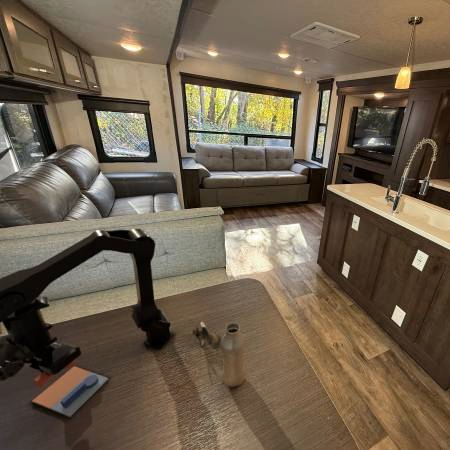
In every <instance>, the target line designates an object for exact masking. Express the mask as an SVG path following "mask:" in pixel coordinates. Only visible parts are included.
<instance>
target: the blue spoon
mask: <svg viewBox="0 0 450 450" xmlns="http://www.w3.org/2000/svg"><path fill="white" fill-rule="evenodd" d="M97 375H98V374H97ZM97 375H91V376H89V377H87V378H86V379H85V380H84V381H83V382H81V383H80V384H79V385H78V386H77V387H76V388H75V389H74V390H72V391H71V392H70V393H69V394H68V395H67V396H66V397H65V398H64V399H62V400H61V401H60V402H61V405H62V407H64V408H67V407H68V406H69V405H71V404H72V403H73V402H74V401H75V400H76V399H77V398H78V397H79V396H80V395H81V394H82V393H83V392H84V391H85V390H86V389H89V388H92V387H93V386H95V385H96V384H97V383H98V377H97Z"/></svg>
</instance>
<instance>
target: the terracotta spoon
mask: <svg viewBox="0 0 450 450" xmlns="http://www.w3.org/2000/svg"><path fill="white" fill-rule="evenodd" d="M75 362H76V359H75V360H74V361H72V362H71V363H70V364H69V365H67V366H66V367H65V368H64V369H63V370H65V369H68V368H69V367H71V366H73V365H74V363H75ZM56 375H57V374H54V375H50V376H47V375H46V374H45V373H44V372H43V373H41V374H39V375H38V376H37V377H35V378H34V379H33V383H34V384H35V386H36V387H37V388H41V387H43V386H44V385H45V384H46V383H48V382H49V381H50V380H51V379H52V378H53V377H55V376H56Z"/></svg>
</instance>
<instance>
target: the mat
mask: <svg viewBox="0 0 450 450" xmlns="http://www.w3.org/2000/svg"><path fill="white" fill-rule="evenodd" d="M91 375H97V377H98V383H97V384H96V385H95V386H93V387H92V388H89V389H86V390H85V391H84V392H83V393H82V394H81V395H80V396H79V397H78V398H77V399H76V400H75V401H74V402H73V403H72V404H71V405H69V406H68V407H67V408H64V407H62V405H61V402H60V401H61V400H62V399H64V398H65V397H66V396H67V395H68V394H69V393H70V392H71V391H72V390H74V389H75V388H76V387H77V386H78V385H79V384H80V383H81V382H83V381H84V380H85V379H86V378H87V377H89V376H91ZM107 381H109V378H108V377H105V376H103V375H100V374H98V373H95V372H91V371H89V370H85V369H84V368H80V367H78V366H75V365H74V366H72V367H71V368H70V369H69V370H68V371H67V372H65V373H64V374H63V375H62V376H60V377H59V378H58V379H57V380H56V381H54V382H53V383H52V384H51V385H49V386H48V387H47V388H46V389H44V390H43V391H42V392H41V393H40V394H38V396H36V397H35V398H34V399H32V402H31V403H33V404H36V405H39V406H41V407H44V408H46V409H49V410H50V411H53V412H56V413H58V414H61V415H64V416H66V417H68V418H71V417H72V416H73V415H74V414H75V413H76V412H77V411H78V410H79V409H80V408H81V407H82V406H83V405H84V404H86V402H87V401H88V400H89V399H90V398H91V397H92V396H93V395H95V393H96V392H98V391H99V390H100V388H101V387H103V386H104V385H105V383H106V382H107Z"/></svg>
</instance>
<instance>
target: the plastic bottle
mask: <svg viewBox="0 0 450 450" xmlns="http://www.w3.org/2000/svg"><path fill="white" fill-rule="evenodd" d="M224 329H225V331H224V335H223V336H222V338H220V345H219V346H220V347H219V348H220V351H221V354H222V360H223V365H222V371H221V378H222V381H223V384H225V385H226V386H227V387H233V388H234V387H238V386H239V385H241V384H243V382H244V380H245V378H246V373H247V371H246V366H245V363H244V353H245V347H246V339H245V337H244V335H243V334H242V333H241V327H240V325H239V323H237V322H231V323H229V324H227V325H226V326H225V328H224Z"/></svg>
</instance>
